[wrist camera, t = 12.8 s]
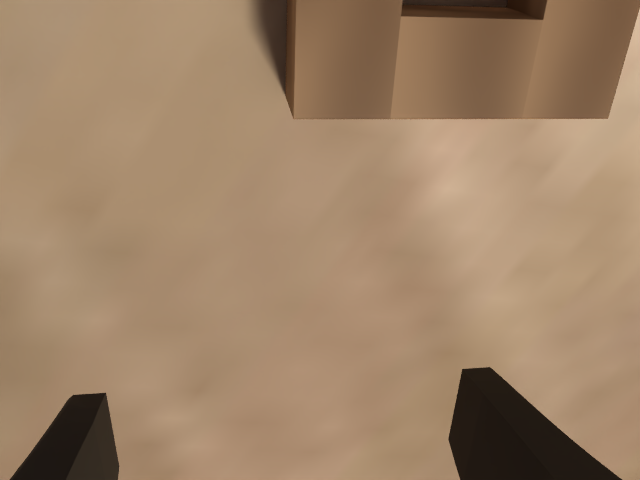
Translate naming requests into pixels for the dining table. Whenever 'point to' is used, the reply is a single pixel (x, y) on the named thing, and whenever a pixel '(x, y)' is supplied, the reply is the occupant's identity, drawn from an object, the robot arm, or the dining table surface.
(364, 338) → the dining table surface
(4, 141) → the dining table surface
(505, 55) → the pin block
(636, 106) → the dining table surface
